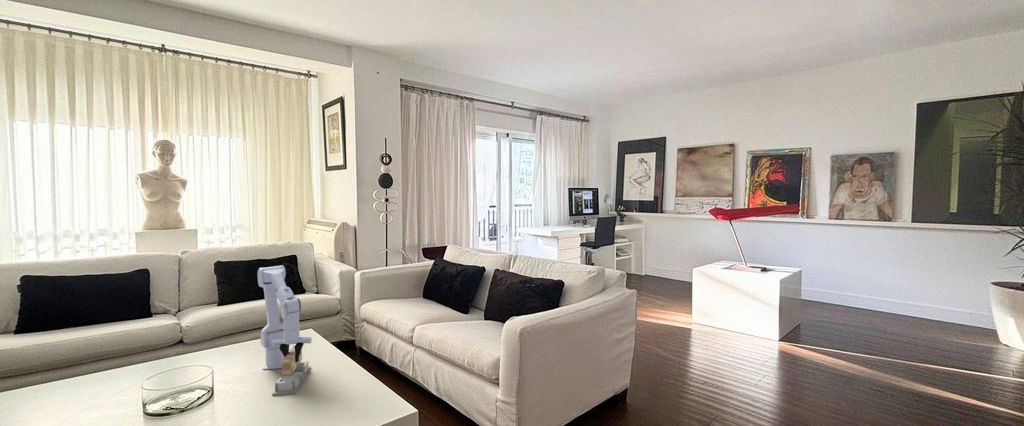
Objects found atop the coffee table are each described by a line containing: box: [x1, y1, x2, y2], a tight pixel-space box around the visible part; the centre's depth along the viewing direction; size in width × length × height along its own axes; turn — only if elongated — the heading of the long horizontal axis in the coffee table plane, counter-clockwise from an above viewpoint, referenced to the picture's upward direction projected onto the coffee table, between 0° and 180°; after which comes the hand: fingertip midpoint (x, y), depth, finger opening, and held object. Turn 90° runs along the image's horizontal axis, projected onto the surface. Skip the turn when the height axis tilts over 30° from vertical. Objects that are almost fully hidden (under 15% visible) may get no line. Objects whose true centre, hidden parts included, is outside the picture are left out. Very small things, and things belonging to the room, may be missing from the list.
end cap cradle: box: [271, 361, 312, 397], centre depth 174 cm, size 24×8×4 cm, turn 12°
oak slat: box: [281, 346, 303, 377], centre depth 173 cm, size 16×3×6 cm, turn 12°
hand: (292, 361), depth 173 cm, fingers closed on oak slat, 3 cm apart
